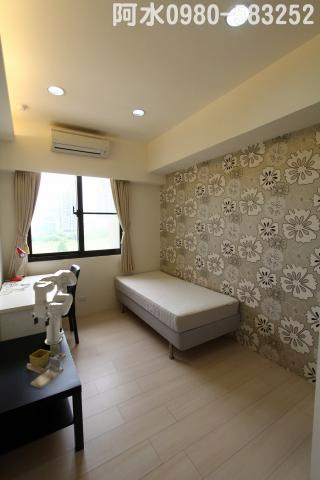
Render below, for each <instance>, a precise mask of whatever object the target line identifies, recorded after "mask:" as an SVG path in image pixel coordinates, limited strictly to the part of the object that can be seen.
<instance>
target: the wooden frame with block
mask: <svg viewBox="0 0 320 480" xmlns="http://www.w3.org/2000/svg"><path fill="white" fill-rule="evenodd" d="M60 346H61V344H60V343H57V344H54V345H49V350H48V351H49V352H50V354H49V357H55V356H56V355H59V356H60V361H61V360H63V359H64V358H65V357H67V356H66V353H61V347H60ZM26 369H27V370H30V371H33V372H35V373H38V374H40V375H42V374H43V373H44V372H46V371H47V370H48V369H49V364H48V365H47V366H45V368H44V367H42V368H41V367H38V366H35V365H32V364H31V363H27V364H26Z"/></svg>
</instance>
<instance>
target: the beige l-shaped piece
mask: <svg viewBox="0 0 320 480" xmlns="http://www.w3.org/2000/svg"><path fill="white" fill-rule="evenodd" d="M60 357H61V356H59V355H56V356H55V357H51V356H49V360H48V365H49V369H48V370H47V371H46V372H44V373H43V374H40V375H38V377H37V378H35V379H33V380H32V381H31V382H30V385H31V386H33V387H36V388H38V389H43V388H44V387H45V386H46V385H48V384H49V382H51V381H53V380H54V379H55V378H56V377H58V375H60V373H62V372H63V371H64V368H63V367H61V363H60V362H61V360H60Z"/></svg>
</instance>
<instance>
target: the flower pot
mask: <svg viewBox="0 0 320 480" xmlns="http://www.w3.org/2000/svg"><path fill="white" fill-rule="evenodd" d="M49 351H50V350H45V349H42V348H40V349H38V350H37V351H35V352H33V353H32V354H30V355H29V362H30V364H32V365H35V366H38V367H41V368H44V367H46V365H47V364H48V363H49V357H50V352H49Z"/></svg>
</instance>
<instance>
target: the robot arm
mask: <svg viewBox="0 0 320 480" xmlns="http://www.w3.org/2000/svg"><path fill="white" fill-rule="evenodd" d="M77 281H78V279H77V276H76V275H75V273H74V272H73V271H71V270H58V271H55V273H53V274H52V275H49V276H45V277H42V278H39V279H38V280H37V281H35V282H34V283H33V284H32V285H33V287H32V289H33V291H34V305H33V311H31V312H30V313H31V316H32V319H33V324H34V325H37V324H38V323H39V319H44V321H45V322H44V326H45V327H46V339H45V340H44V343H45V344H46V345H48V346H50V345H53V346H54V345H55V344H60V342H62V341H63V337H62V335H64V334H65V331H62V332H60V331H61V330H60V329H61V326H60V325H61V323H60V322H61V321H60V319H61V318H60V317H59V316H65V315H67V314H68V313H69V311H70V308H71V305H72V303H73V300H74V298H73V294H72V293H68V289H67V288H66V286H70V287H71V286H75V285H76V284H77ZM55 287H56V291H55V293H54V295H53V298H52V300H51V301H52V302H50V303H48V293H51V292H53V291H54V290H55Z"/></svg>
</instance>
